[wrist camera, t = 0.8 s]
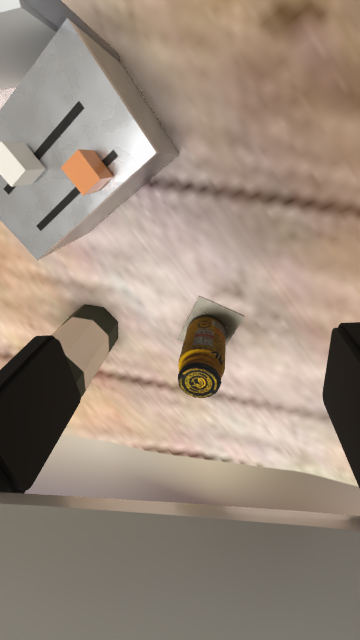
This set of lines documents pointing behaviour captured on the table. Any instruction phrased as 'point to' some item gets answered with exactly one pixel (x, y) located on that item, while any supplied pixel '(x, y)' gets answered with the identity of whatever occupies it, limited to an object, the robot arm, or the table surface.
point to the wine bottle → (87, 342)
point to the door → (33, 35)
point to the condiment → (205, 347)
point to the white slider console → (77, 140)
